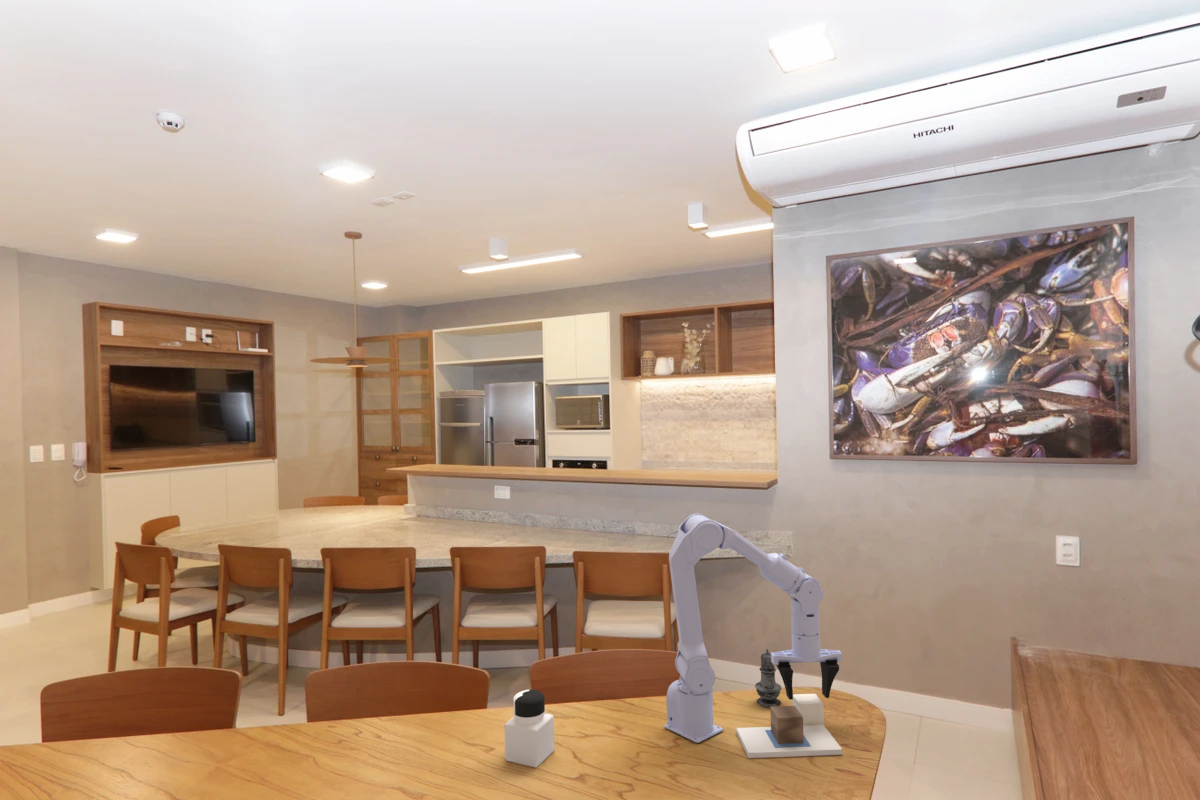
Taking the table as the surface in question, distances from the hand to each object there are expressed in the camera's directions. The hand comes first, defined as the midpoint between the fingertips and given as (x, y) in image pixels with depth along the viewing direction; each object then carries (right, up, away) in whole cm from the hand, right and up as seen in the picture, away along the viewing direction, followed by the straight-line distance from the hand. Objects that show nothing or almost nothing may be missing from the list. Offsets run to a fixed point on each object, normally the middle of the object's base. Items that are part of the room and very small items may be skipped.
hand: (807, 696), depth 142 cm
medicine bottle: (-57, -7, -11) cm, 59 cm away
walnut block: (-7, -4, -8) cm, 12 cm away
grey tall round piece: (-6, -6, +10) cm, 13 cm away
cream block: (0, -6, 0) cm, 6 cm away
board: (-7, -5, -9) cm, 12 cm away
